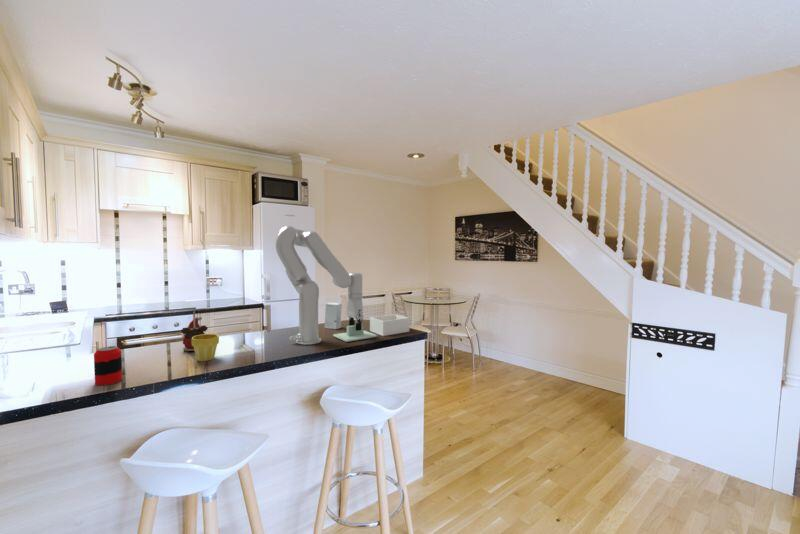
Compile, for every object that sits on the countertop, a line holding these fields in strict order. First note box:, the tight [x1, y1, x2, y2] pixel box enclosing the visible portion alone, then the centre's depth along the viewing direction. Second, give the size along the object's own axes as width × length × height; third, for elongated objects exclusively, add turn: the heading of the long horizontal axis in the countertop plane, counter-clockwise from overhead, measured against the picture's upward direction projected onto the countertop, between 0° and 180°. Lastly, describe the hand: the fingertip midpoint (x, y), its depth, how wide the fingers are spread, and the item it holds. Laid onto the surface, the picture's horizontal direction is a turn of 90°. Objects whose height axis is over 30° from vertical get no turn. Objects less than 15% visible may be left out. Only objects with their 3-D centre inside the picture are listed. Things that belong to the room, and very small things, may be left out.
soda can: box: [93, 345, 123, 386], centre depth 128 cm, size 8×8×12 cm
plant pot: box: [192, 333, 220, 362], centre depth 155 cm, size 10×10×10 cm
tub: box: [369, 313, 410, 337], centre depth 209 cm, size 18×14×8 cm
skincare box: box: [324, 302, 343, 330], centre depth 216 cm, size 8×6×15 cm
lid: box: [332, 324, 378, 343], centre depth 194 cm, size 19×15×7 cm
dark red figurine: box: [180, 310, 208, 352], centre depth 169 cm, size 11×9×18 cm
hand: (355, 328), depth 194 cm, fingers open, 6 cm apart
